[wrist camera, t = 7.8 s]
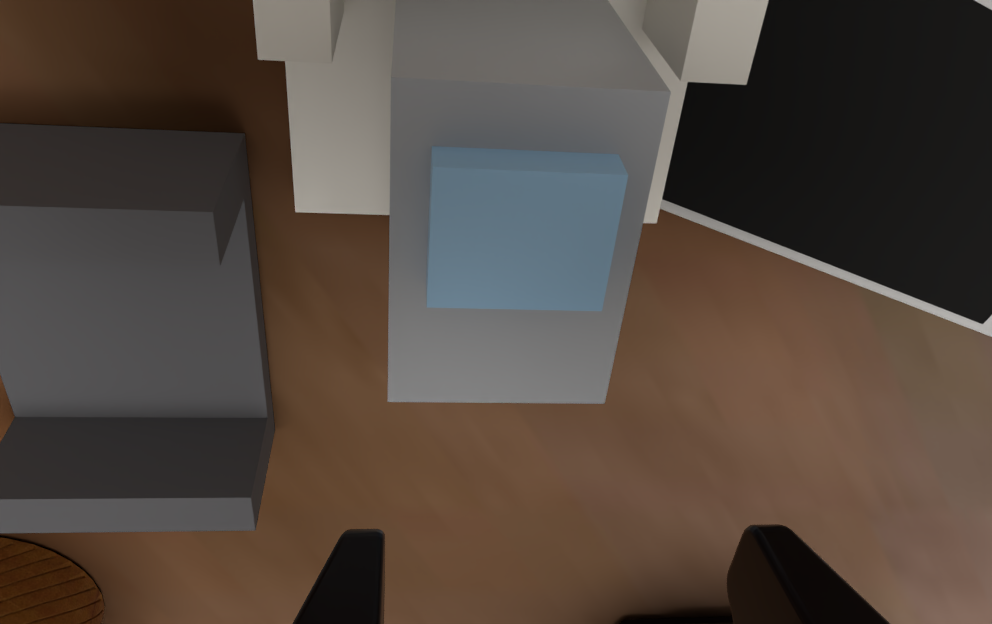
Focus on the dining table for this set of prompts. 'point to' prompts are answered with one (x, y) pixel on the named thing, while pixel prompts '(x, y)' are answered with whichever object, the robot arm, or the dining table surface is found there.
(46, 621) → the disposable coffee cup
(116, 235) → the holster
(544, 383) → the plug
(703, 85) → the smartphone
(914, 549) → the dining table surface
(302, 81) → the port
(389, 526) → the dining table surface
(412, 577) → the dining table surface
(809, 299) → the dining table surface
